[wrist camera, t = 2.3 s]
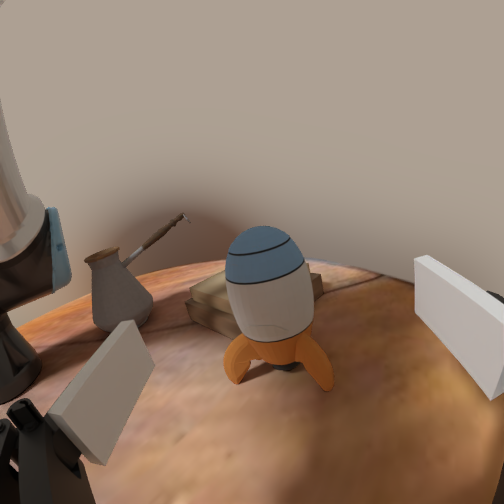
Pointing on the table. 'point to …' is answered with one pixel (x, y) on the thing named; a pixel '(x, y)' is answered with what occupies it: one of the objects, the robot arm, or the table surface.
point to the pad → (230, 320)
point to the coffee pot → (120, 286)
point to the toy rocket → (272, 306)
